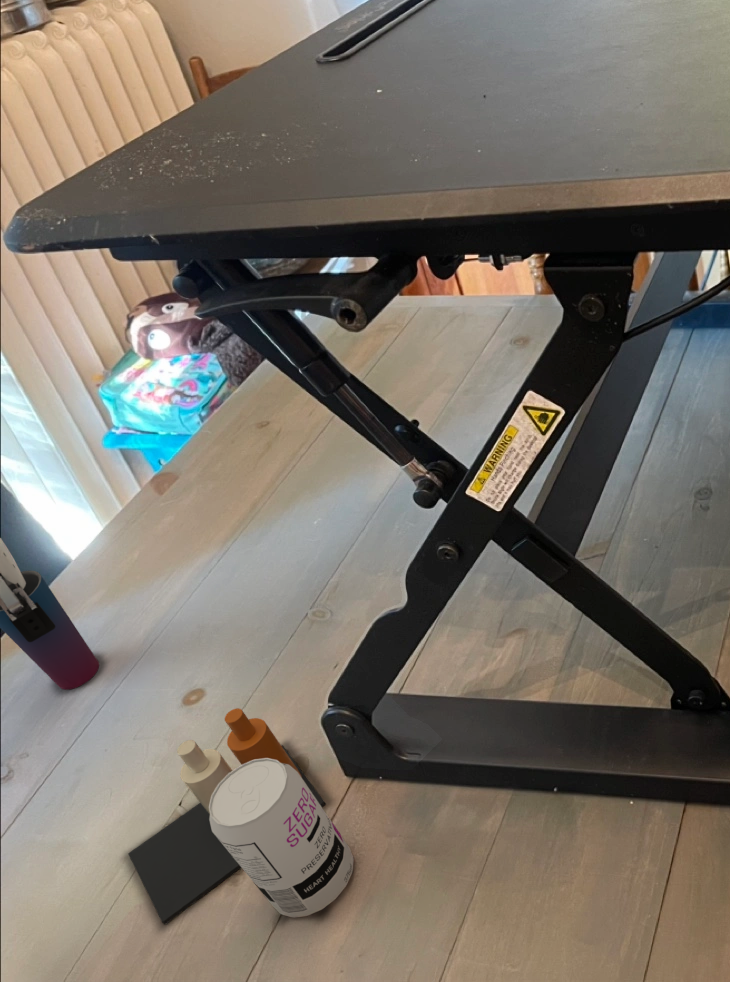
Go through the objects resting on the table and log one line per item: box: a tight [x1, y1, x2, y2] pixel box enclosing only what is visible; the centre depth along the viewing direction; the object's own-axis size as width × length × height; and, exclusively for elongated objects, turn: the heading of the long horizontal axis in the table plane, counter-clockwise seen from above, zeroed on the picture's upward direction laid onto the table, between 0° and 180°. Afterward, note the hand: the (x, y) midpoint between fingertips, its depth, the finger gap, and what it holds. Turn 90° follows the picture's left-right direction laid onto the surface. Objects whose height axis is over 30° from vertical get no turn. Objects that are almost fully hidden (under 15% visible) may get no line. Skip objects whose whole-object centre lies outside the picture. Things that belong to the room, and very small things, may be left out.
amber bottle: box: [224, 707, 302, 778], centre depth 110 cm, size 4×4×12 cm
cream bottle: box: [176, 739, 234, 814], centre depth 107 cm, size 4×4×12 cm
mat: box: [127, 744, 327, 925], centre depth 110 cm, size 18×11×1 cm, turn 132°
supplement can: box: [209, 758, 355, 918], centre depth 99 cm, size 8×8×15 cm
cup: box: [0, 570, 100, 691], centre depth 129 cm, size 7×7×15 cm
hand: (34, 619), depth 128 cm, fingers closed on cup, 6 cm apart
